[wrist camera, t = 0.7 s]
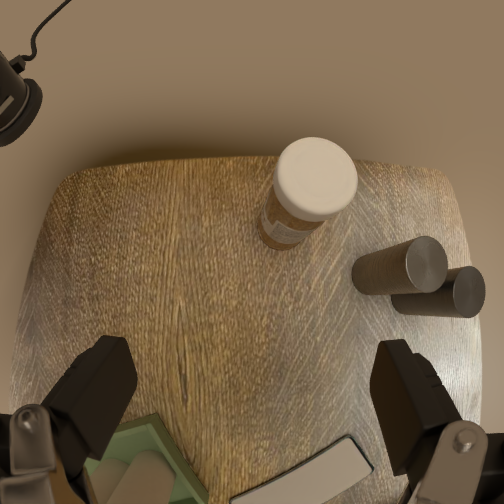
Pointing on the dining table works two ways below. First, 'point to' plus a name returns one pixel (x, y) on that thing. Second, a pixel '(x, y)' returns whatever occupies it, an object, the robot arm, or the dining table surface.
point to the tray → (155, 438)
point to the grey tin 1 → (402, 268)
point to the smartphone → (314, 477)
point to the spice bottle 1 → (107, 478)
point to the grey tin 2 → (447, 296)
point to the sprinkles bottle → (306, 191)
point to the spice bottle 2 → (145, 480)
